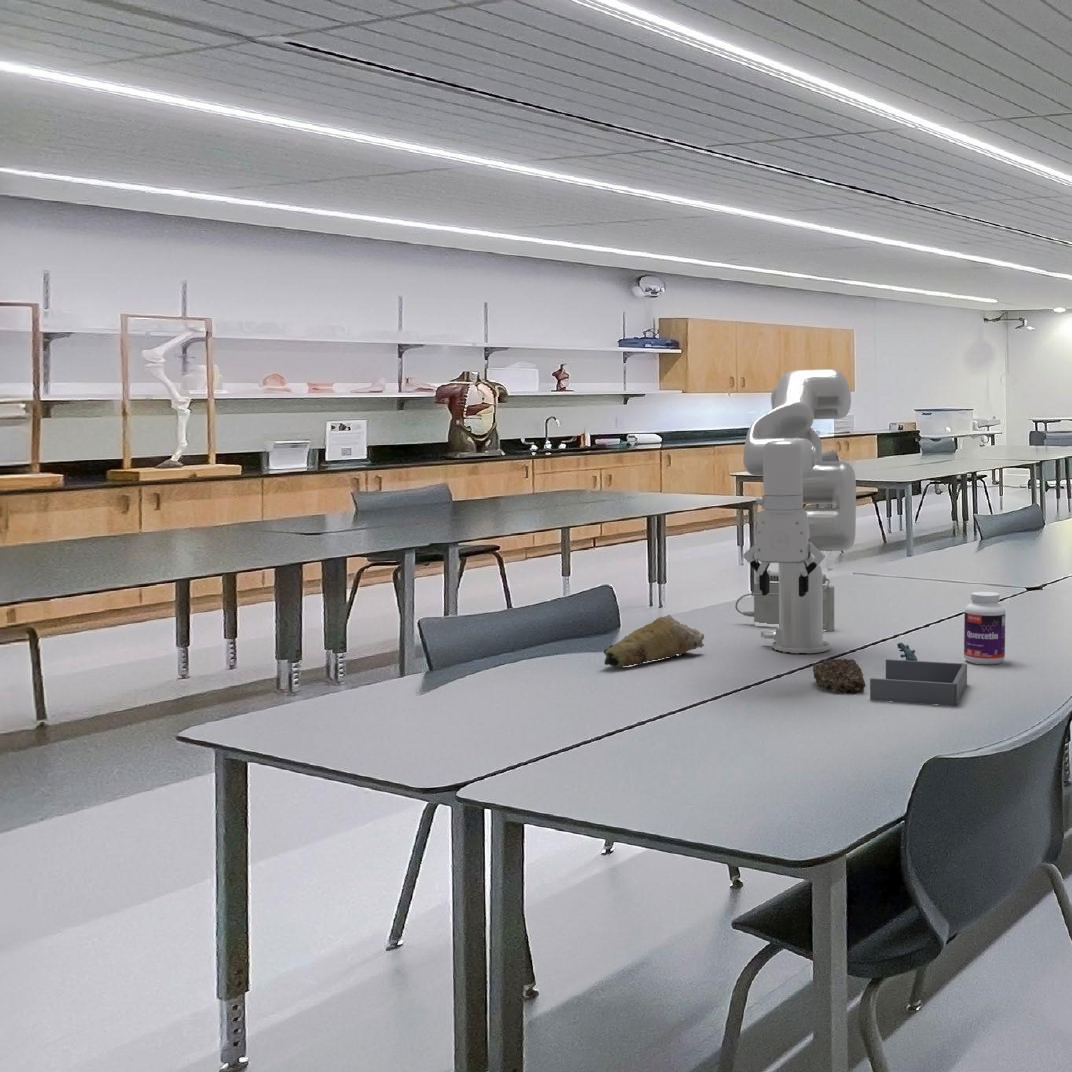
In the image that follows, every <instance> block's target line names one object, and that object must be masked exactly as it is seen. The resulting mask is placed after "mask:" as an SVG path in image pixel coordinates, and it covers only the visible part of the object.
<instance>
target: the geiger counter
mask: <svg viewBox="0 0 1072 1072" xmlns="http://www.w3.org/2000/svg"><path fill="white" fill-rule="evenodd" d="M767 573H768V574H769V593H768V594H767V595H762V590H760V585H759V575H758V573H757V572H756V580H757V581H756V582H754V583H753V593H751V592H750V593H746V594H743V595H742V596H739V598H738V599H737V600H736V602H735V607H734V608H735V610H736V611H737V612H738V613H739V614H742V615H743V616H744V617H745V616H746V617H751V618H752V617H753V623H754V622H759V623H767V624H779V571H771V570H768V569H767ZM826 582H827V583H826ZM830 583H831V580H830V579H829V578H827V575H826V574H823V573H822V588H823V630H826V631H831V632H833V631H832V630H834V631H835V585H830ZM825 584H826V585H825ZM748 596H753V610H754V611H749V610H748V611H743V612H742V611H741V610H740V609H739V608H738V604H739V602H740V601H741V600H742V599H743V598H745V597H748Z"/></svg>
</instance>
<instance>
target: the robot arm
mask: <svg viewBox="0 0 1072 1072" xmlns="http://www.w3.org/2000/svg"><path fill="white" fill-rule="evenodd" d="M851 394H852V393H851V389H850V386H849V384H848V381H847V378H846V376H845V375H844V374H843V373H842V371H840V370H837V369H834V368H819V369H818V368H817V369H812V368H811V369H796V370H791V371H788V372H786V373H784V374H783V375H782V376H781V377H780V379H779V380H778V383H777V385H776V386H775V387H774V388H773V390H772V391H771V394H770V395H771V396H770V403H771V410H769V411H767V412H765V414H763V415H761V416H760V417H759V418H757V419H755V421H753V422H752V424H751V425H750V427H749V428H748V430H747V433H746V438H745V441H744V448H743V452H742V453H743V457H742V459H743V460H742V461H743V466H744V468H745V469H744V470H746V471H747V473H749V474H750V475H752V476H755V477H762V478H763V479H762V480H763V481H762V482H763V485H762V486H763V487H762V488H763V491H762V492H763V495H762V496H761V497H756V500H755V504H756V505H757V506H761V507H762V509H763V510H760V511H759V513H758V517H757V524H756V533H755V534H756V537H755V543H754V544H753V545H752V546H751V547H750V548H749V549H748V550H746V552H744V553H743V555H742V557H743V558H744V560H746V561H747V562H748V564H749V566H750V567H751V568H752V569H753V570H755V572H756V574H757V573H758V575H759V585H760V590H762V595H767V594H768V593H769V574H768V573H767V570H768V569H769V567H770V565H771V563H772V564H778V572H779V581H778V583H779V628H774V629H770V628H761V629H760V638H763V639H767V640H768V639H773V641H774V642H772V644H771V645H772V649H773V648H774V649H775V650H774V649H773V650H774V651H776V650H780V651H784V652H783V653H786V652H790V653H789V654H799V653H807V654H818V653H819V654H820V653H824V652H827V651H829V650H830V649H831V644H830V642H828V641H826V640H824V638H823V637H824V635H823V634H824V633H823V632H824V631H823V588H822V585H823V584H822V574H823V570H822V568H821V565H820V564H821V562H823V561H824V560H825V557H826V556H825V554H823V552H827V551H828V552H841V551H848V550H850V549H851V548H852V547H853V546H854V543H855V539H856V533H857V531H856V530H857V529H856V528H857V527H856V525H857V523H856V522H857V521H856V519H857V518H856V514H857V511H856V510H857V504H856V503H857V481H856V473H855V470H854V468H853V466H852V465H851V464H850V463H848V462H846V461H843V460H842V461H841V460H830V461H829V460H828V461H827V460H825V461H824V460H823V458H822V457H823V456H822V455H823V452H822V451H823V443H822V440H821V438H820V436H819V435H818V434H817V432H816V431H815V430H814V429H813V427H812V425H813V423H814V421H815V420H838V419H842V418H845V417H846V416H847V415H848V414H849V412H850V410H851V406H852V405H851V404H852V395H851ZM806 504H807V505H812V504H813V505H833V507H804V505H806ZM754 554H755V557H754ZM780 651H779V652H780Z"/></svg>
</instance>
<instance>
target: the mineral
mask: <svg viewBox="0 0 1072 1072" xmlns="http://www.w3.org/2000/svg"><path fill="white" fill-rule="evenodd" d="M704 639H705V634H704V633H702V632H700V631H699V630H697V629H696V628H691V627H689V626H688V625H686V624H683V623H680V622H679V621H678V620H676V619H674V618H673V617H672V615H670V614H668V615H666V616H659V617H657V618H656V619H655V620H653V621H652V622H651V623H647V624H645V625H643V626H642V627H640V628H637V629H635V630H634V631H632V632H631V633H629V634H628V635H626V636H625V637H623V639H621V640H620V641H618V642H616V643H615V644H611V645H610V646H609V647H608V648H606V649H604V651H603V654H604V655H605V659H604V665H605V666H608V665H609V666H610V667H614V668H622V667H623V666H629V665H634V664H638V665H641V664H642V663H643V662H647V661H652V660H658V659H662V658H666V657H671V656H673V657H676V656H675V655H676V654H679V655H680V654H682V655H683V654H684V653H687V652H689V651H692V650H696V649H697V648H701V649H702V648H703V647H705V644H704V643H703V641H704ZM671 658H672V657H671ZM640 663H641V664H640Z"/></svg>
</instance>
